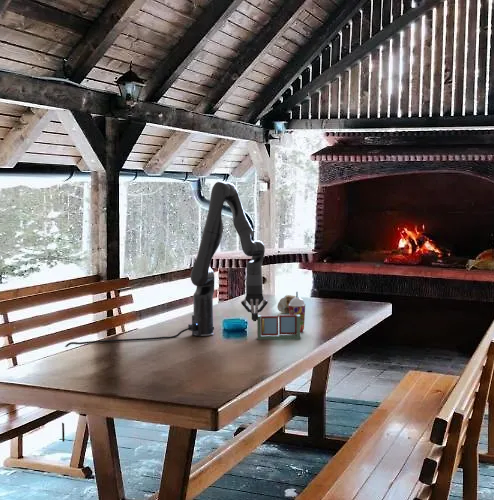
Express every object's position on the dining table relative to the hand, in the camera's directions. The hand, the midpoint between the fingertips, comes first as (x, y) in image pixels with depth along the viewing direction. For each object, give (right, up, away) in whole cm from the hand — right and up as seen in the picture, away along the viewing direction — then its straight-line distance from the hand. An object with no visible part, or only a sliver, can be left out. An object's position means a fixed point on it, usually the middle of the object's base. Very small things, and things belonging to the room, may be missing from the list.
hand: (254, 320), depth 340 cm
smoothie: (+19, -8, +22) cm, 30 cm away
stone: (+15, -3, +81) cm, 82 cm away
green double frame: (+11, -9, +6) cm, 15 cm away
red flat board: (+7, -7, +2) cm, 10 cm away
